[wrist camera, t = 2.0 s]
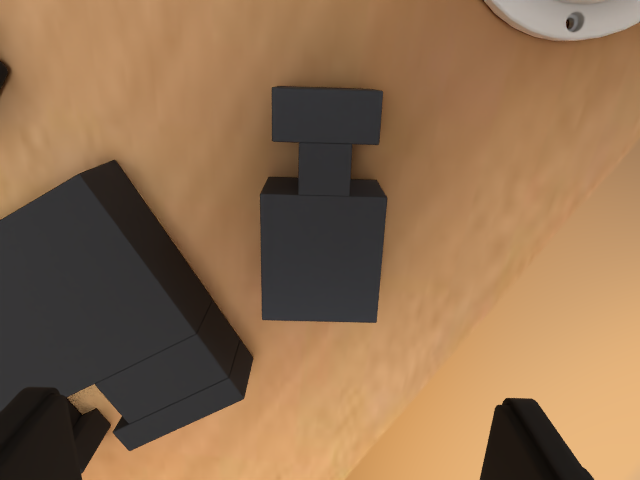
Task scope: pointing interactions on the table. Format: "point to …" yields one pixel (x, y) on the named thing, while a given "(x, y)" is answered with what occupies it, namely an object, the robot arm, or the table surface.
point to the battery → (3, 73)
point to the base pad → (111, 314)
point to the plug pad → (323, 210)
